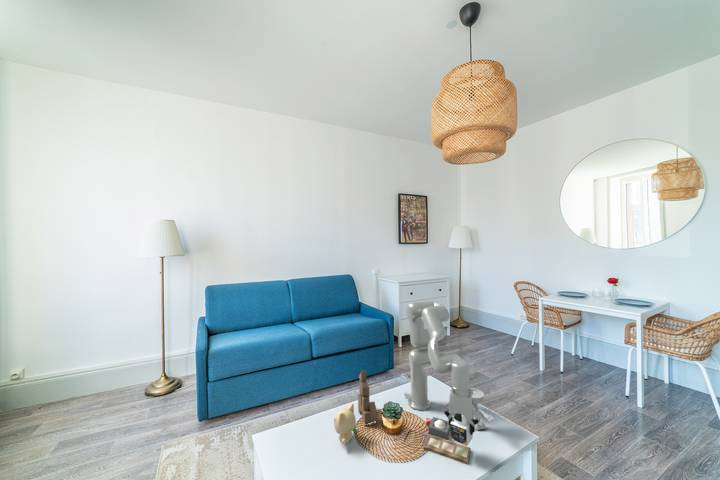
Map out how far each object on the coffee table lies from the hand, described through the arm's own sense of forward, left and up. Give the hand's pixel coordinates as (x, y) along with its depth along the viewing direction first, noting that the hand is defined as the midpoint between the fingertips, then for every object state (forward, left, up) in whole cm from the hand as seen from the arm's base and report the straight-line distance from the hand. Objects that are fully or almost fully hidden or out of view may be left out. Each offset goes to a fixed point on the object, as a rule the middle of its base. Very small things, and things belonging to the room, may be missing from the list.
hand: (461, 429), depth 123 cm
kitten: (-51, -15, -11) cm, 54 cm away
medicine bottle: (0, 0, -4) cm, 4 cm away
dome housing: (-12, +11, -11) cm, 20 cm away
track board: (-6, 0, -11) cm, 13 cm away
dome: (-12, +11, -11) cm, 20 cm away
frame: (-21, 0, -11) cm, 24 cm away
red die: (-18, +13, -11) cm, 25 cm away
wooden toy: (-50, +5, -11) cm, 52 cm away
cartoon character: (+2, +22, -11) cm, 25 cm away
